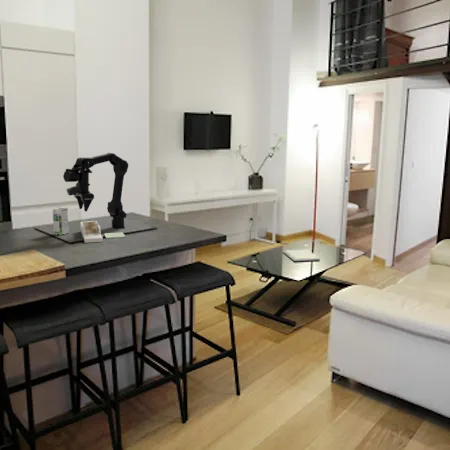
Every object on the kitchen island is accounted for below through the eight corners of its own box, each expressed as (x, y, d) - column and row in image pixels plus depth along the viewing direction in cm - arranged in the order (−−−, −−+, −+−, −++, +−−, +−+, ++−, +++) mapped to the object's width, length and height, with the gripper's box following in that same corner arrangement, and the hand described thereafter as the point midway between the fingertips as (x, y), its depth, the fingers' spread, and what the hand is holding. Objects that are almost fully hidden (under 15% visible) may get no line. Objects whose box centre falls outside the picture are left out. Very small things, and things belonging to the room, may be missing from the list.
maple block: (95, 230, 256) (94, 221, 255) (96, 232, 251) (95, 223, 250) (85, 231, 254) (85, 222, 253) (86, 233, 249) (86, 224, 248)
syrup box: (53, 234, 255) (51, 208, 252) (61, 232, 260) (60, 206, 257) (60, 235, 252) (59, 209, 249) (69, 233, 257) (67, 207, 254)
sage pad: (122, 233, 260) (122, 232, 260) (125, 237, 251) (125, 236, 251) (104, 234, 256) (104, 233, 256) (106, 238, 247) (106, 237, 247)
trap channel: (97, 230, 266) (96, 220, 264) (102, 241, 241) (102, 231, 240) (80, 231, 262) (80, 221, 261) (84, 242, 238) (84, 232, 237)
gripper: (63, 179, 253) (63, 208, 256) (72, 183, 238) (73, 213, 241) (83, 179, 260) (83, 207, 262) (94, 183, 244) (94, 212, 247)
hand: (83, 210), depth 253 cm, fingers open, 9 cm apart
